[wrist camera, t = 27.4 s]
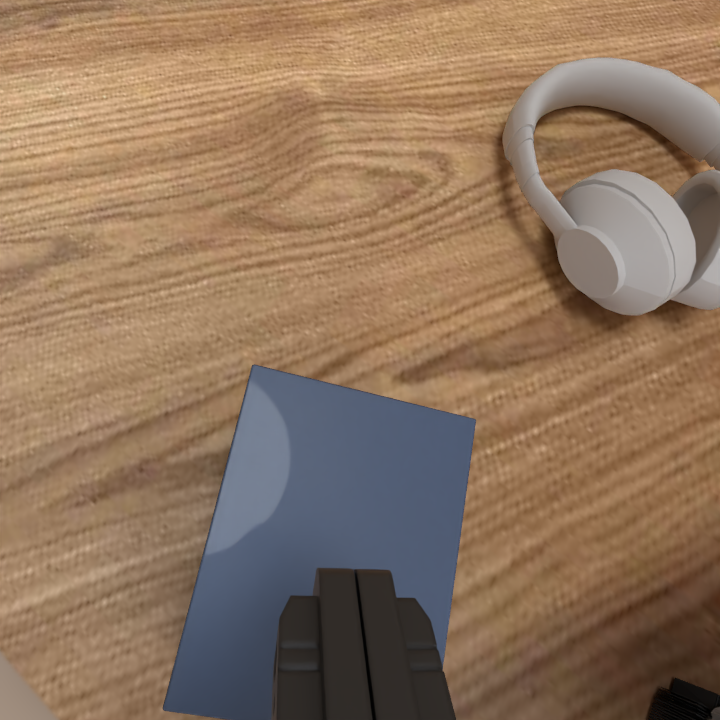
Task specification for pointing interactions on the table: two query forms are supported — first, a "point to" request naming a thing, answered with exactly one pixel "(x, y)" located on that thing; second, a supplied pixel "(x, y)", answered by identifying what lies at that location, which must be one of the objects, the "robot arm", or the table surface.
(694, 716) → the cpu cooler
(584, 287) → the headphones
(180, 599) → the table surface
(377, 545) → the lid
